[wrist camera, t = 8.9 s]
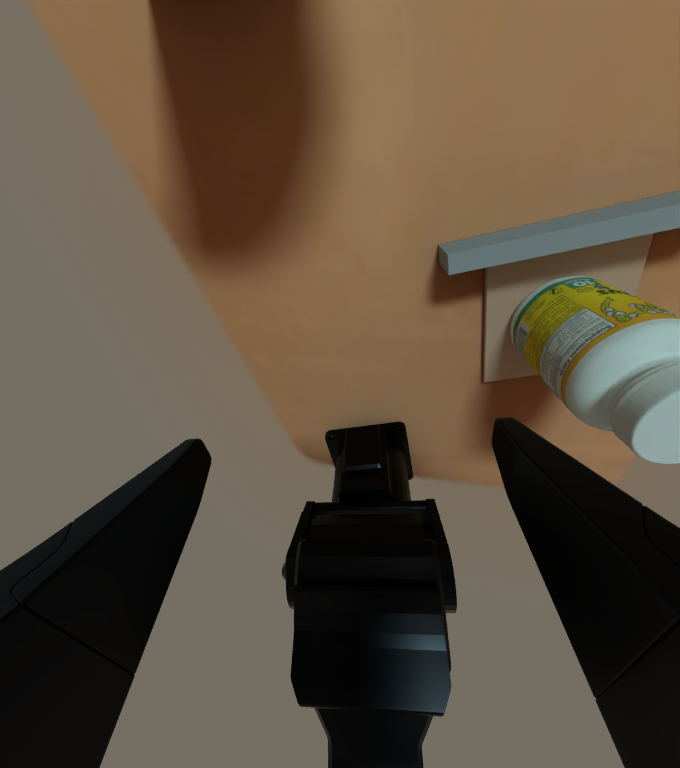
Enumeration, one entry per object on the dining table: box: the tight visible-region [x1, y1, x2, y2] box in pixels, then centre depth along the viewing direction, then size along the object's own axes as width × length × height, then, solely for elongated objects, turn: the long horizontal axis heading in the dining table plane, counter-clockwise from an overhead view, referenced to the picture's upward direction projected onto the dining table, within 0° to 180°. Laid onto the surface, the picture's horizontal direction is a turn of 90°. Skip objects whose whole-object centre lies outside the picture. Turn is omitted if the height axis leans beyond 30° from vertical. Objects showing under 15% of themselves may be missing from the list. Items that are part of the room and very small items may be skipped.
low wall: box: [438, 191, 680, 275], centre depth 15 cm, size 1×13×2 cm, turn 103°
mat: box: [483, 233, 654, 383], centre depth 19 cm, size 8×8×1 cm
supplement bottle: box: [510, 276, 680, 464], centre depth 15 cm, size 5×5×10 cm
